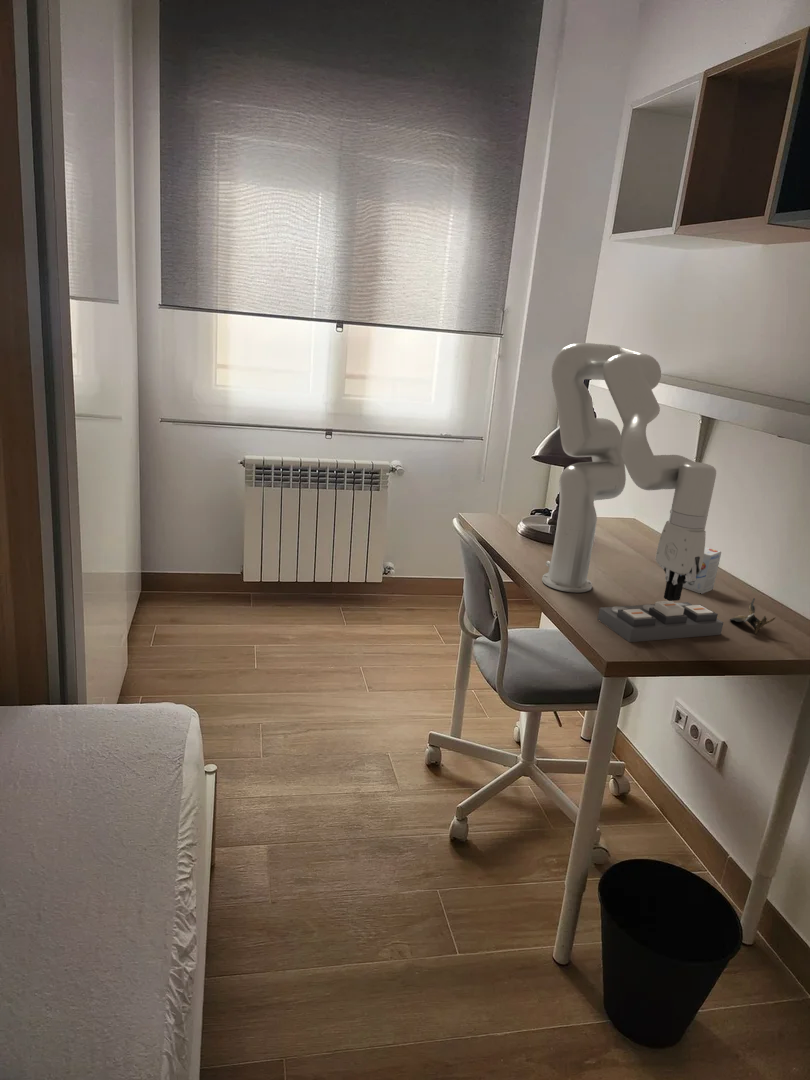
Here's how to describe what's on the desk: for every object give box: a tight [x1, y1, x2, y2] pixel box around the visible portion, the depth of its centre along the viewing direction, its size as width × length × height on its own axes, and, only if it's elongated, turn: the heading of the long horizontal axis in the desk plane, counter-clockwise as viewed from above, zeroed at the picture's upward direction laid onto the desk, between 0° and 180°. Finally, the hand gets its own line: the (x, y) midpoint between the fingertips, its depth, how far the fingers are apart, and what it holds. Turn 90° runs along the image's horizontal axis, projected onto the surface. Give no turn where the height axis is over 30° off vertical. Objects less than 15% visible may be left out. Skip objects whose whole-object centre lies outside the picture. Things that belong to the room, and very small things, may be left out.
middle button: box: [654, 600, 684, 616], centre depth 173 cm, size 4×4×2 cm
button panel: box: [597, 601, 724, 643], centre depth 176 cm, size 12×25×5 cm, turn 111°
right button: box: [685, 604, 714, 615], centre depth 177 cm, size 4×4×2 cm
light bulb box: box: [665, 546, 722, 595], centre depth 205 cm, size 11×7×11 cm, turn 45°
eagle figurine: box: [729, 597, 776, 635], centre depth 181 cm, size 8×7×9 cm
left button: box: [623, 609, 652, 619], centre depth 170 cm, size 4×4×2 cm
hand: (671, 599), depth 172 cm, fingers closed
